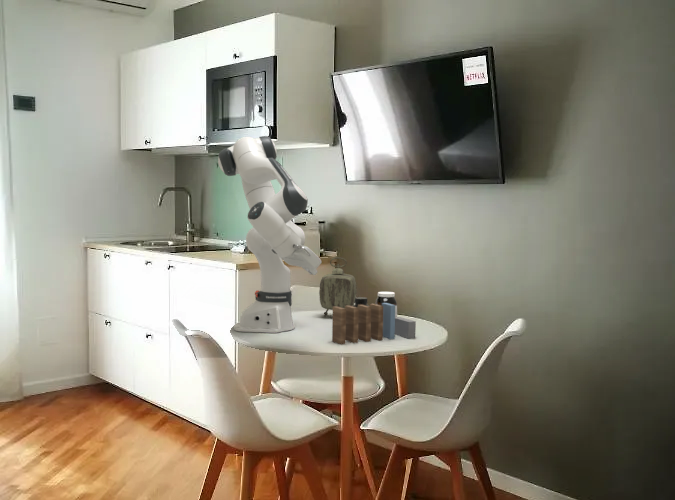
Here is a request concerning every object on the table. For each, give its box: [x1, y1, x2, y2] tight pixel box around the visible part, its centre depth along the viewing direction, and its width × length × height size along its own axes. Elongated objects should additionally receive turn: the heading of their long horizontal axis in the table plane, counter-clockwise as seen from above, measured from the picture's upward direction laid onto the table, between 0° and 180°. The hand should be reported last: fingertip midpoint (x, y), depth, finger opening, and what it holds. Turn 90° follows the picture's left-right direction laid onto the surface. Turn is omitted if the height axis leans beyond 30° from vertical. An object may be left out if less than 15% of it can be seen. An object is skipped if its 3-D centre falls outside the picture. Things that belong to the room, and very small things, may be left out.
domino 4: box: [369, 303, 384, 341], centre depth 238 cm, size 2×6×12 cm, turn 29°
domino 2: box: [345, 305, 359, 344], centre depth 233 cm, size 2×6×12 cm, turn 29°
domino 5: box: [382, 303, 396, 340], centre depth 241 cm, size 2×6×12 cm, turn 29°
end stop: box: [395, 316, 417, 340], centre depth 244 cm, size 3×10×6 cm, turn 29°
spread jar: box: [374, 291, 398, 317], centre depth 273 cm, size 12×11×12 cm
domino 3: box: [358, 305, 372, 343], centre depth 236 cm, size 2×6×12 cm, turn 29°
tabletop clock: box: [318, 256, 357, 316], centre depth 279 cm, size 14×9×25 cm, turn 82°
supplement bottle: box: [353, 296, 370, 308], centre depth 255 cm, size 7×7×12 cm
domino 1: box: [331, 306, 346, 345], centre depth 231 cm, size 2×6×12 cm, turn 29°
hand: (314, 273), depth 223 cm, fingers closed
